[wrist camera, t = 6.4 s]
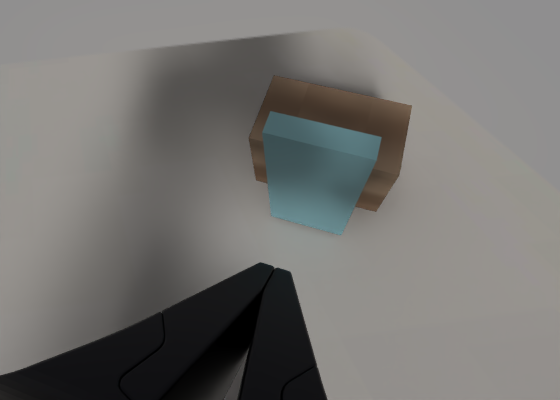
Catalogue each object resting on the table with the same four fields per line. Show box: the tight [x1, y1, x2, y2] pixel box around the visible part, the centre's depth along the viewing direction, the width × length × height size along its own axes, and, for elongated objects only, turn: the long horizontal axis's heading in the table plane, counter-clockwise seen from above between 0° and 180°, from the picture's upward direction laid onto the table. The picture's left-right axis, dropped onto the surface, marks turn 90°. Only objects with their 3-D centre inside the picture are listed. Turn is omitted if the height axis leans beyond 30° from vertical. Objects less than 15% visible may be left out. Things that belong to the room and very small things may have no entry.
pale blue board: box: [262, 111, 382, 235], centre depth 20 cm, size 6×5×10 cm
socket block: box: [249, 75, 412, 212], centre depth 23 cm, size 5×9×6 cm, turn 73°
